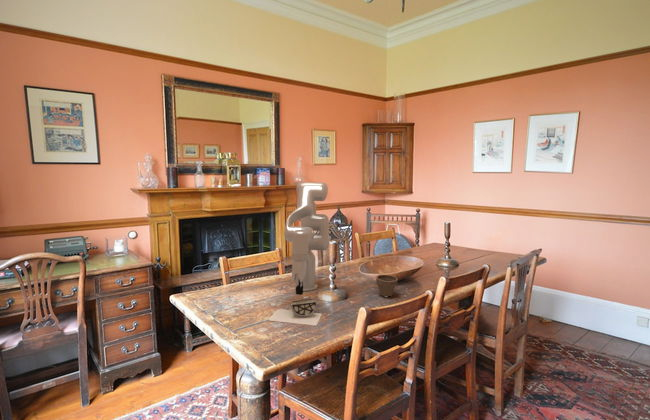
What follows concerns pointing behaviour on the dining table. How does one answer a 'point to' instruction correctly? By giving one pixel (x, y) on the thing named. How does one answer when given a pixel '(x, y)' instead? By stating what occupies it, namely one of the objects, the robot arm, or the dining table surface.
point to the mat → (295, 317)
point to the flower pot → (386, 284)
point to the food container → (303, 307)
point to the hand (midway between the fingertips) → (299, 294)
